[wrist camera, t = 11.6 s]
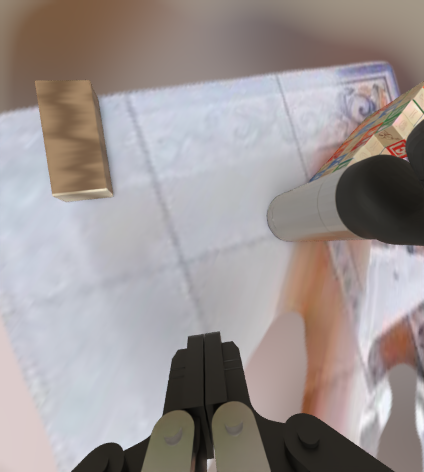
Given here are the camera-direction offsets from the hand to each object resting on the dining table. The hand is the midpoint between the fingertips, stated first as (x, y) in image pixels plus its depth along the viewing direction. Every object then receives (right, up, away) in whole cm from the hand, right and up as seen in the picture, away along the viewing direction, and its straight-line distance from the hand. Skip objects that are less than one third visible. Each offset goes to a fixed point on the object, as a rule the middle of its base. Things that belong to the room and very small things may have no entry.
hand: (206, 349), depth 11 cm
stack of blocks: (+28, +21, +37) cm, 50 cm away
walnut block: (-19, +11, +24) cm, 32 cm away
